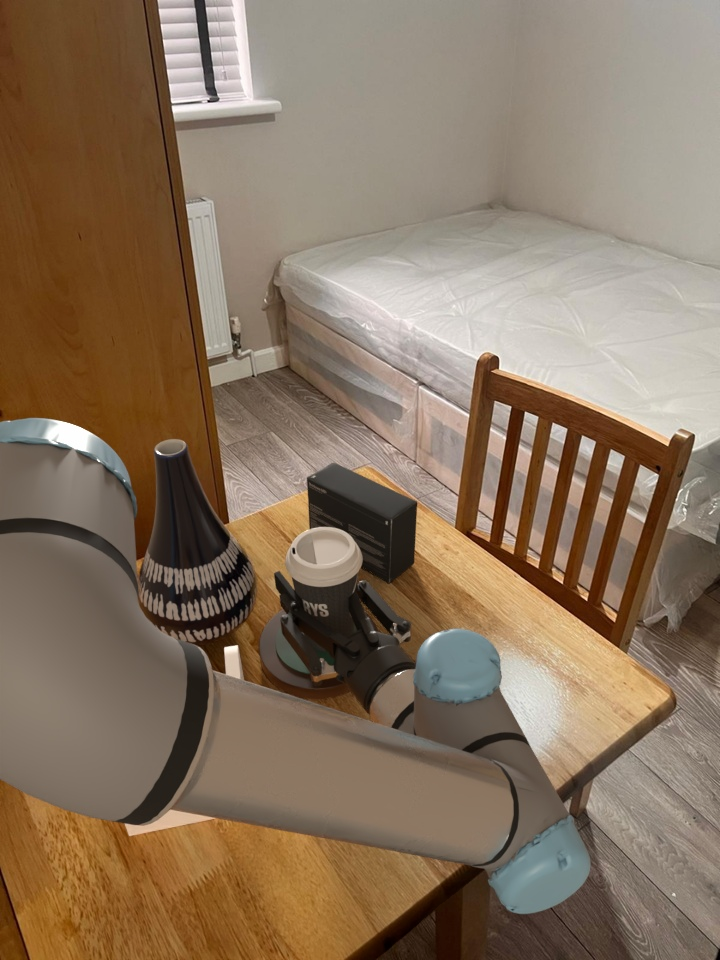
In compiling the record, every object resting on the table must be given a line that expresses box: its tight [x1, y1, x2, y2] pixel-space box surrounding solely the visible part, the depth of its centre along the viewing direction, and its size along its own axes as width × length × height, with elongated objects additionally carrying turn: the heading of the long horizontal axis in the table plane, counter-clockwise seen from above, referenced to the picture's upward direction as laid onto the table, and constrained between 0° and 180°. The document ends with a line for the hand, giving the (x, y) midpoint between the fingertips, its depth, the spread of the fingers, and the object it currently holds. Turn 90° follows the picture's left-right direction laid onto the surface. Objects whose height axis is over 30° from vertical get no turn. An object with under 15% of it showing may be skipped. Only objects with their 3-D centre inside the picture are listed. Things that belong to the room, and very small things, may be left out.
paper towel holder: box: [258, 608, 379, 700], centre depth 94 cm, size 16×16×14 cm
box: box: [306, 461, 418, 584], centre depth 112 cm, size 17×7×12 cm, turn 49°
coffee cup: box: [284, 527, 363, 652], centre depth 93 cm, size 10×10×15 cm
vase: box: [137, 438, 259, 647], centre depth 94 cm, size 16×16×30 cm
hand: (296, 571), depth 96 cm, fingers open, 5 cm apart
